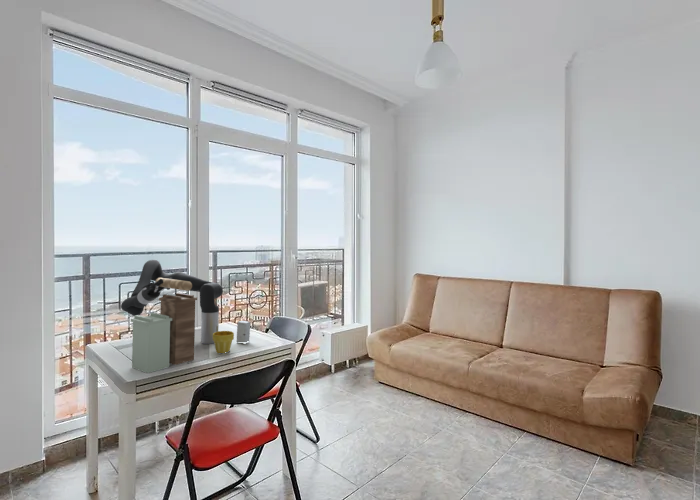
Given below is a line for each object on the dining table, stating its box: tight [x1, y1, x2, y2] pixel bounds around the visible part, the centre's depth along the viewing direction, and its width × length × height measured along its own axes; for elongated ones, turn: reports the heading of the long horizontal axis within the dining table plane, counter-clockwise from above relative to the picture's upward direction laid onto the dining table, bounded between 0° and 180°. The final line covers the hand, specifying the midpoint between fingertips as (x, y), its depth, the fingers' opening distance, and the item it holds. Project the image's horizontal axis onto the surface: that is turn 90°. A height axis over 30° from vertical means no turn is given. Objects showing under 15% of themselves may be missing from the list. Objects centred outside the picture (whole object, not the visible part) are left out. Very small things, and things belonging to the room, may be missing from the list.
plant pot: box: [213, 330, 235, 354], centre depth 198 cm, size 10×10×10 cm
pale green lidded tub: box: [130, 312, 172, 374], centre depth 171 cm, size 12×12×23 cm
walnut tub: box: [158, 292, 198, 366], centre depth 182 cm, size 12×12×31 cm
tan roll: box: [154, 278, 192, 292], centre depth 183 cm, size 22×4×4 cm, turn 59°
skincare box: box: [236, 320, 251, 342], centre depth 215 cm, size 6×4×12 cm
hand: (166, 280), depth 186 cm, fingers closed on tan roll, 4 cm apart
